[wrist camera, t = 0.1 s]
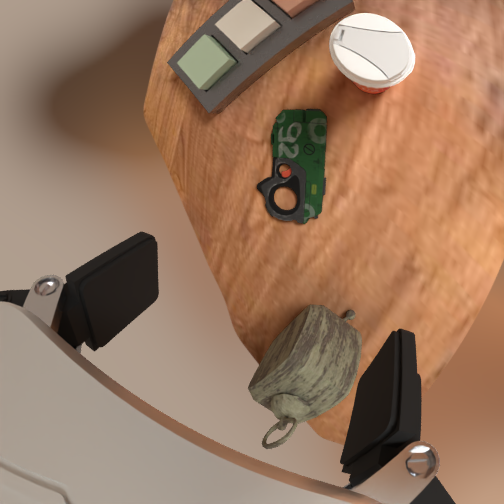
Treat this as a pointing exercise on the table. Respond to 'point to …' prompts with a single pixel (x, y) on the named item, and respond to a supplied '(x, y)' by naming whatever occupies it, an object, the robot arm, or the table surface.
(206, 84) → the sage green button
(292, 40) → the button panel
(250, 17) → the cream button
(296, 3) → the terracotta button
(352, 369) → the tabletop clock
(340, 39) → the paper cup
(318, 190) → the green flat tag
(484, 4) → the table surface
